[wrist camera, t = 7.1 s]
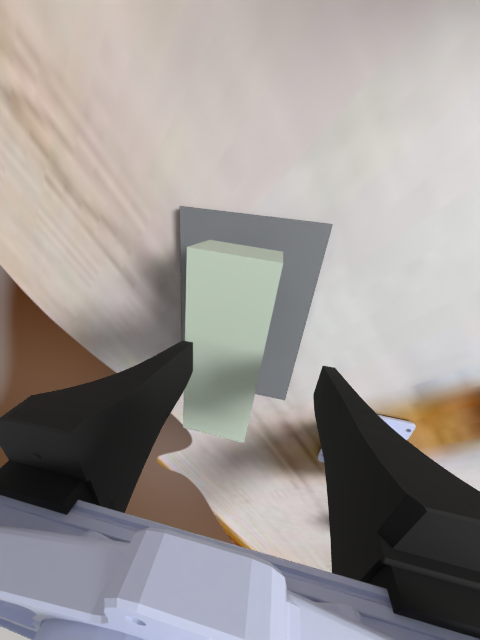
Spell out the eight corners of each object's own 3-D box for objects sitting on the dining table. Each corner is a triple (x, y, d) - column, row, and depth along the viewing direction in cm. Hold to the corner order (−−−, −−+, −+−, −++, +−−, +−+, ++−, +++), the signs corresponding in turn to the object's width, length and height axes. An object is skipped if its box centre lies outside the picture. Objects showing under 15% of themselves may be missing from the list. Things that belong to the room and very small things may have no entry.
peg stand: (284, 393, 25) (285, 427, 21) (185, 372, 26) (168, 400, 22) (329, 223, 17) (344, 226, 13) (184, 206, 18) (157, 203, 14)
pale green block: (209, 239, 15) (186, 247, 11) (283, 251, 14) (283, 263, 11) (199, 391, 21) (183, 427, 17) (250, 403, 21) (243, 443, 17)
